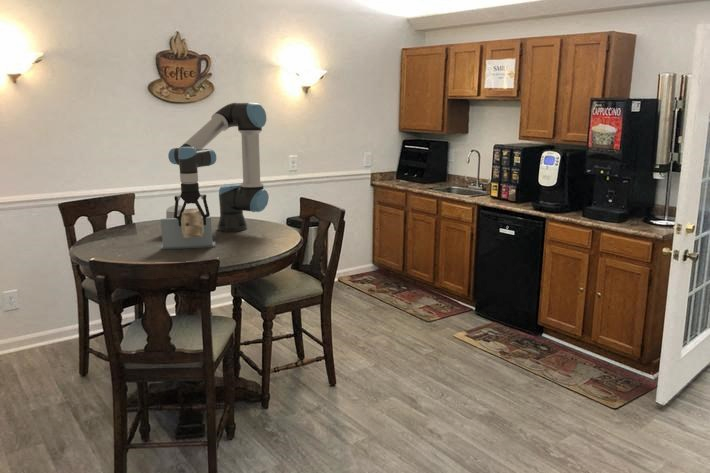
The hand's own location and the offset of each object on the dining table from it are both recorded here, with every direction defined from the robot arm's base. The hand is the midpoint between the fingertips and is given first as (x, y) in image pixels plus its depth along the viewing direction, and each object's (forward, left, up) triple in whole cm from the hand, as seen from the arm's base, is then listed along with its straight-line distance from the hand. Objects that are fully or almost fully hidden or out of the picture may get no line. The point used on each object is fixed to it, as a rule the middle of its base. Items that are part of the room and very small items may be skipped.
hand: (193, 232), depth 262 cm
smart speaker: (+11, -38, -9) cm, 40 cm away
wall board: (+3, -9, -9) cm, 13 cm away
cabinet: (0, -1, -1) cm, 2 cm away
